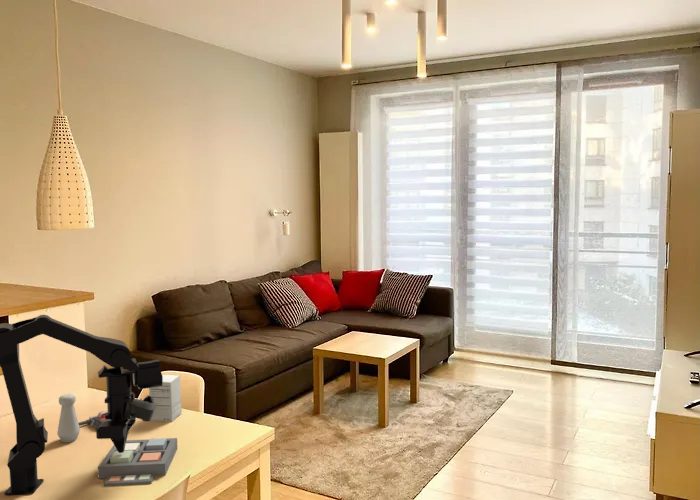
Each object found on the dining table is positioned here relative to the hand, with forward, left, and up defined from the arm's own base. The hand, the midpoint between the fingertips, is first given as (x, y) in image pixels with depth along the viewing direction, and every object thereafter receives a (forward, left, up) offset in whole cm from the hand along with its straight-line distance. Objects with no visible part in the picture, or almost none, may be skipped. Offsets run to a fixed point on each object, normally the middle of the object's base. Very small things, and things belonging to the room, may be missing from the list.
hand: (121, 452), depth 151 cm
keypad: (+2, -4, -5) cm, 6 cm away
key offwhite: (+7, 0, -3) cm, 8 cm away
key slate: (+7, -7, -3) cm, 10 cm away
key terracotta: (0, -7, -3) cm, 8 cm away
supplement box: (+37, -4, -5) cm, 37 cm away
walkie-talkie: (+33, +14, -5) cm, 36 cm away
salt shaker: (+22, +20, -5) cm, 30 cm away
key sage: (0, 0, -3) cm, 3 cm away
